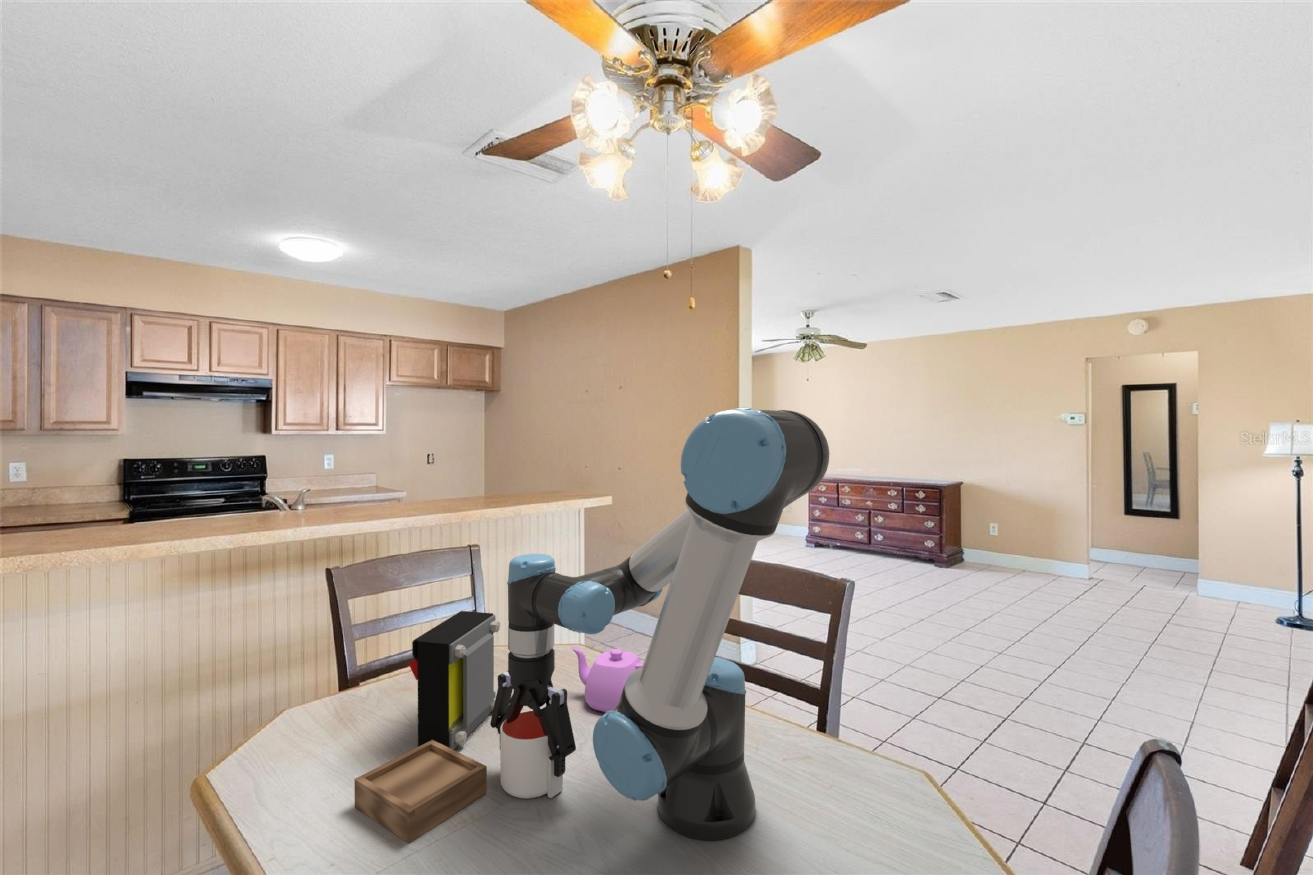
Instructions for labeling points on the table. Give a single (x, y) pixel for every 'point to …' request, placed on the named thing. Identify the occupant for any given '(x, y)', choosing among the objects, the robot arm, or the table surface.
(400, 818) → the wooden tray
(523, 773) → the cup
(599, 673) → the teapot
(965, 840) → the table surface
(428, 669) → the electrical component
